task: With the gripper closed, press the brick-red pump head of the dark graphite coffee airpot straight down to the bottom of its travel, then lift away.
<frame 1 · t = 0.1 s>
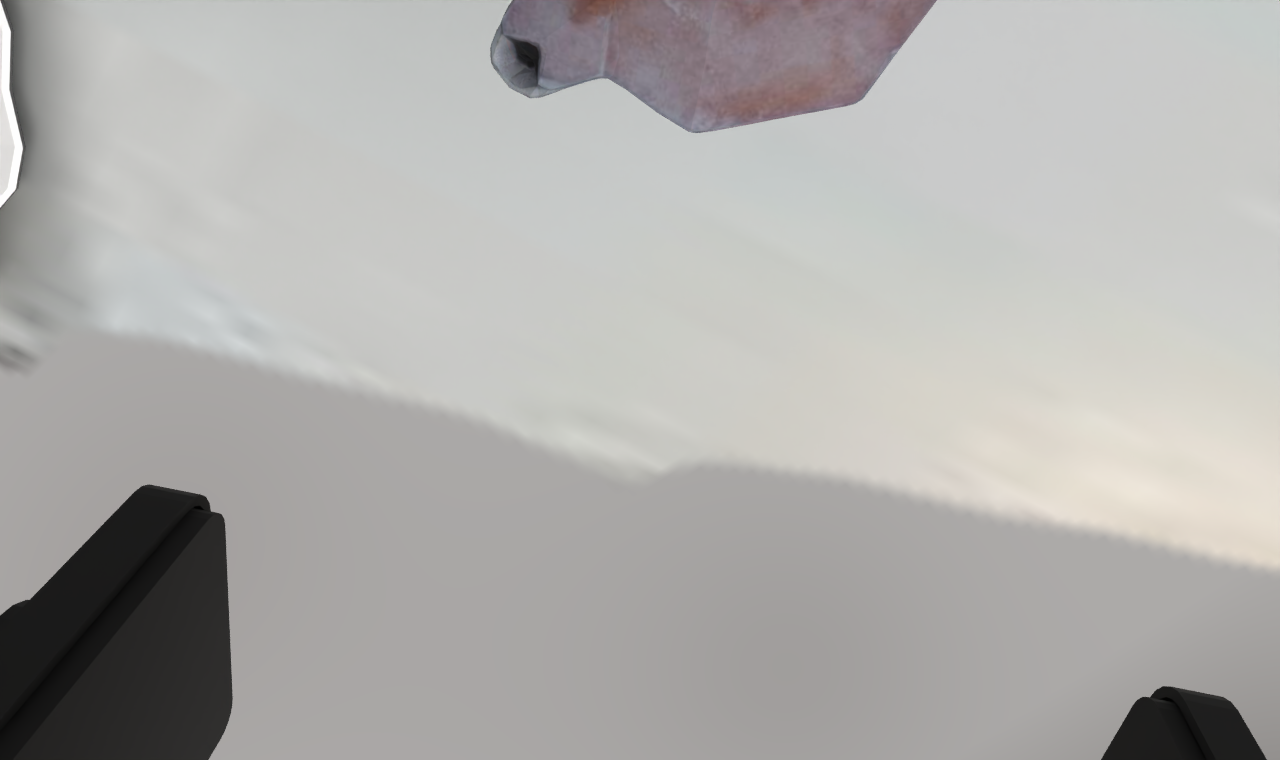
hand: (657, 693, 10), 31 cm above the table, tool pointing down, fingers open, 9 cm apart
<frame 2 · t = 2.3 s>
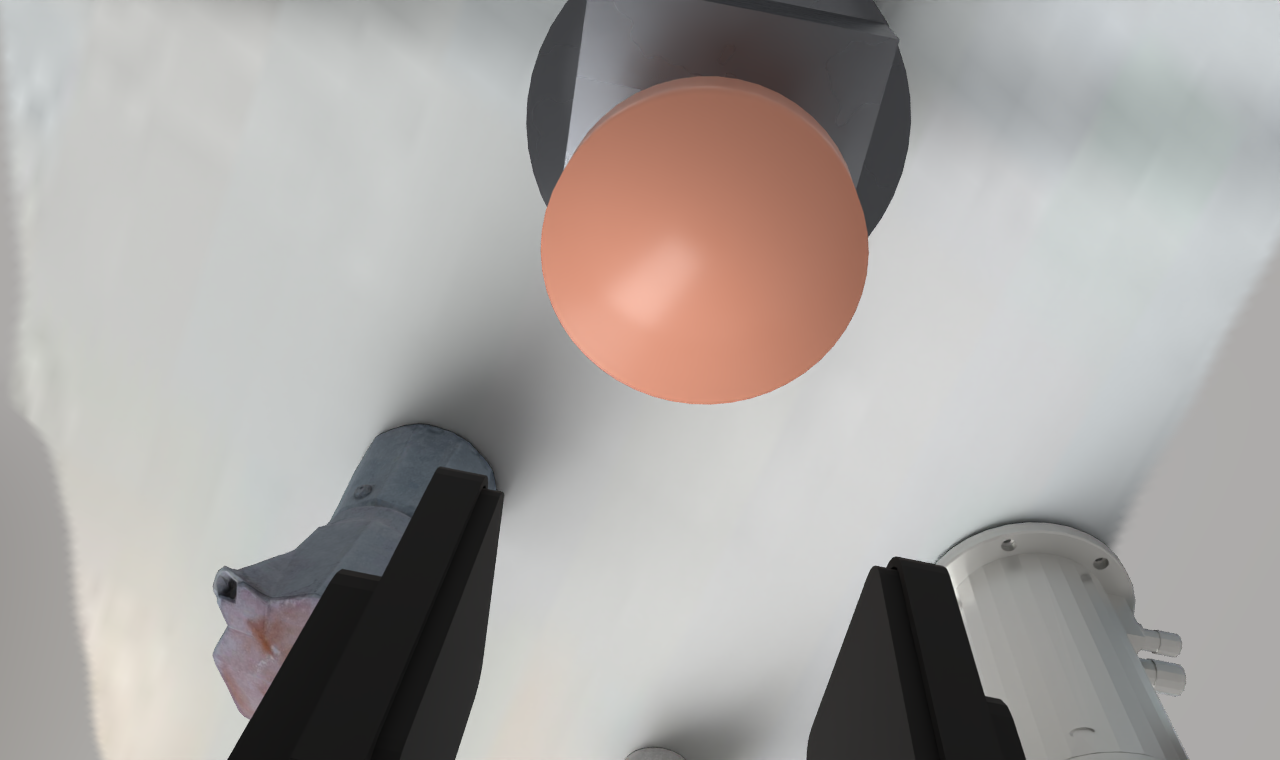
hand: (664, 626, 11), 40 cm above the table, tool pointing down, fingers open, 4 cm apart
airpot: (724, 43, 46), on the table
moka pot: (436, 484, 60), on the table
house plant: (662, 757, 70), on the table
pump head: (706, 219, 23), point 26 cm above the table, slide at 0.0 cm
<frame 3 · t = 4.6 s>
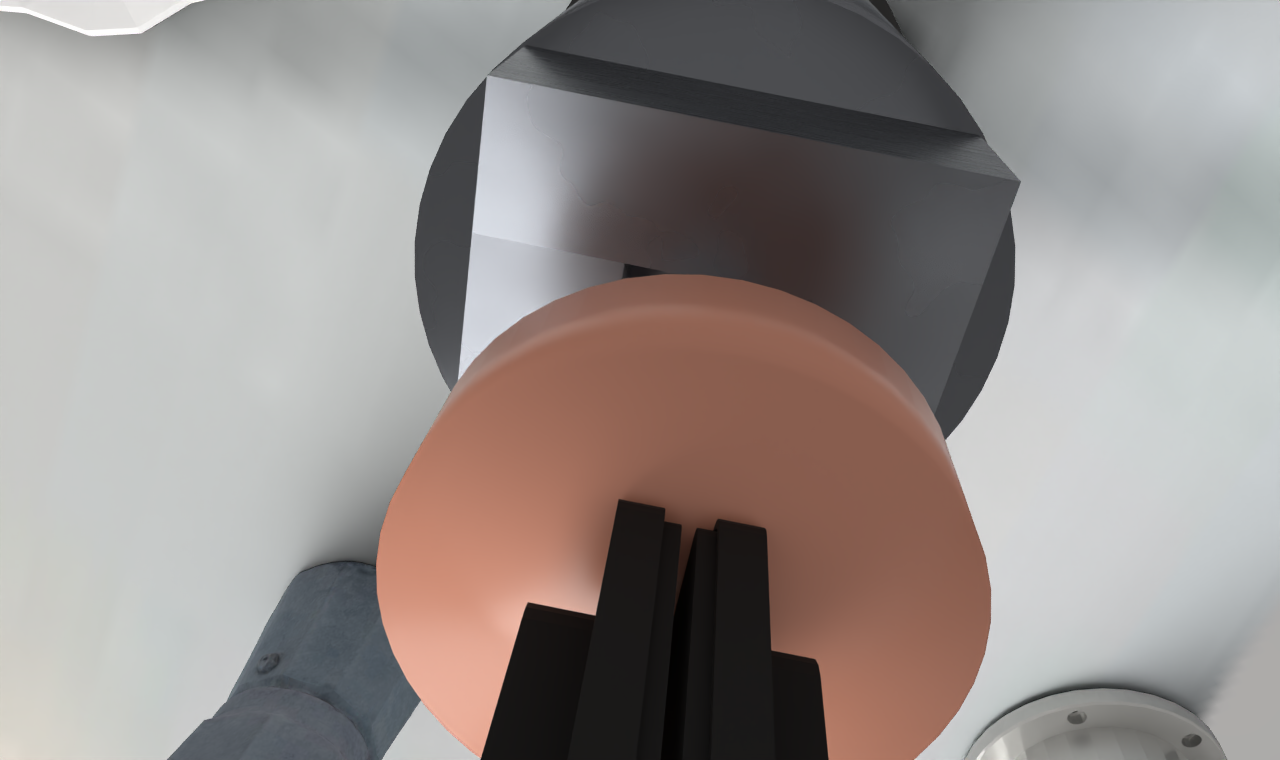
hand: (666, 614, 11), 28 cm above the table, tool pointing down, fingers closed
airpot: (723, 108, 35), on the table
moka pot: (372, 628, 49), on the table
pump head: (687, 484, 14), point 25 cm above the table, slide at 1.4 cm, touching gripper
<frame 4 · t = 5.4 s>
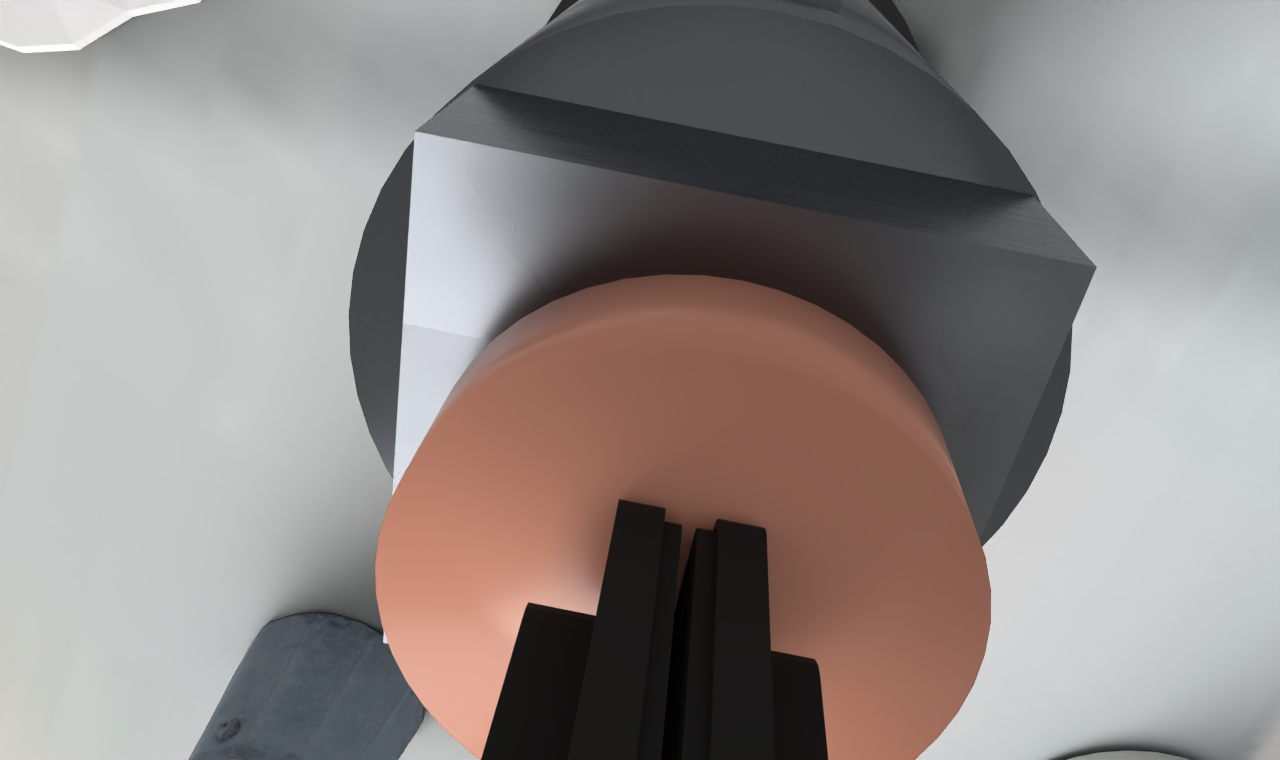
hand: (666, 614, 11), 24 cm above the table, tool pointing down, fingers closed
airpot: (721, 132, 32), on the table
moka pot: (346, 681, 46), on the table
pump head: (687, 485, 14), point 21 cm above the table, slide at 5.1 cm, touching gripper
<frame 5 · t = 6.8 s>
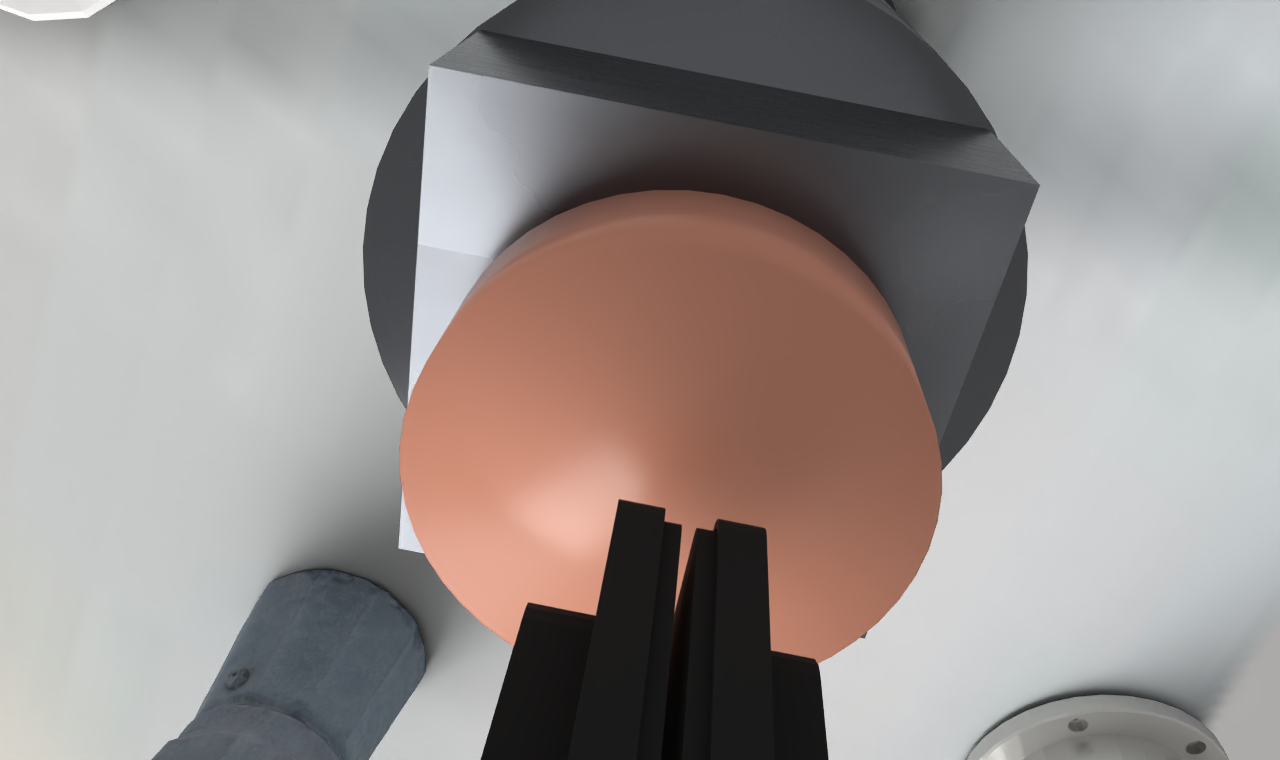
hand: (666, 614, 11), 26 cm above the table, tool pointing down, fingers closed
airpot: (709, 95, 33), on the table
moka pot: (349, 637, 48), on the table
pump head: (676, 391, 15), point 21 cm above the table, slide at 5.1 cm
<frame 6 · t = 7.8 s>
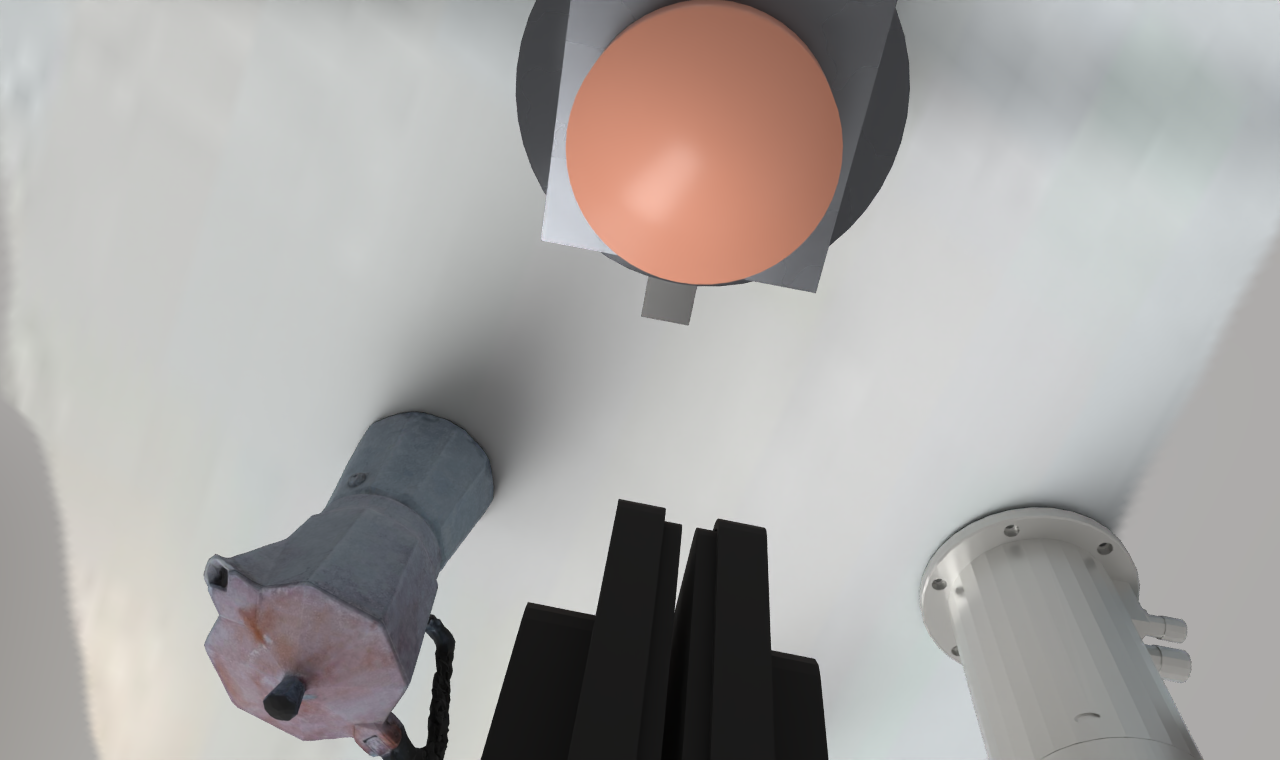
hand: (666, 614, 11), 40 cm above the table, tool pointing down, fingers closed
airpot: (719, 20, 45), on the table
moka pot: (432, 473, 60), on the table
pump head: (705, 129, 27), point 21 cm above the table, slide at 5.1 cm
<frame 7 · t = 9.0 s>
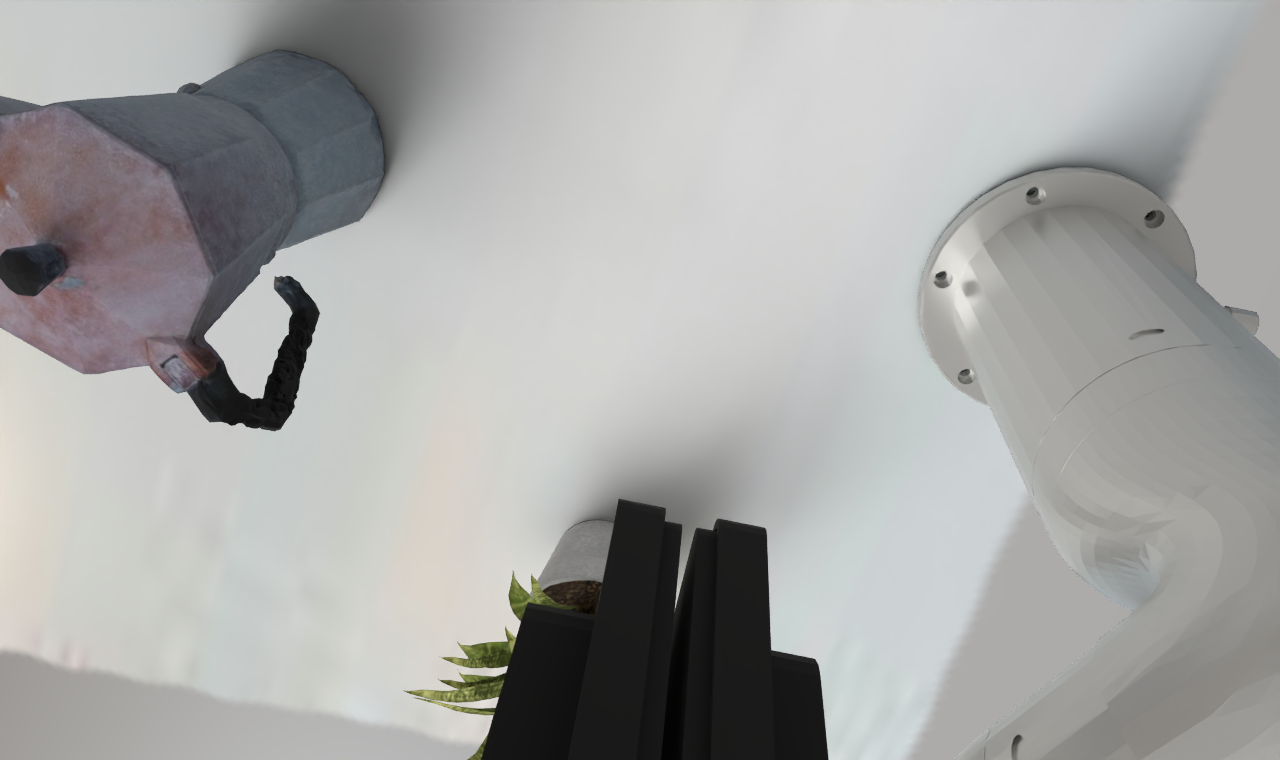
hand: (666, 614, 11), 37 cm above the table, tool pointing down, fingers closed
moka pot: (309, 145, 48), on the table
house plant: (606, 535, 57), on the table
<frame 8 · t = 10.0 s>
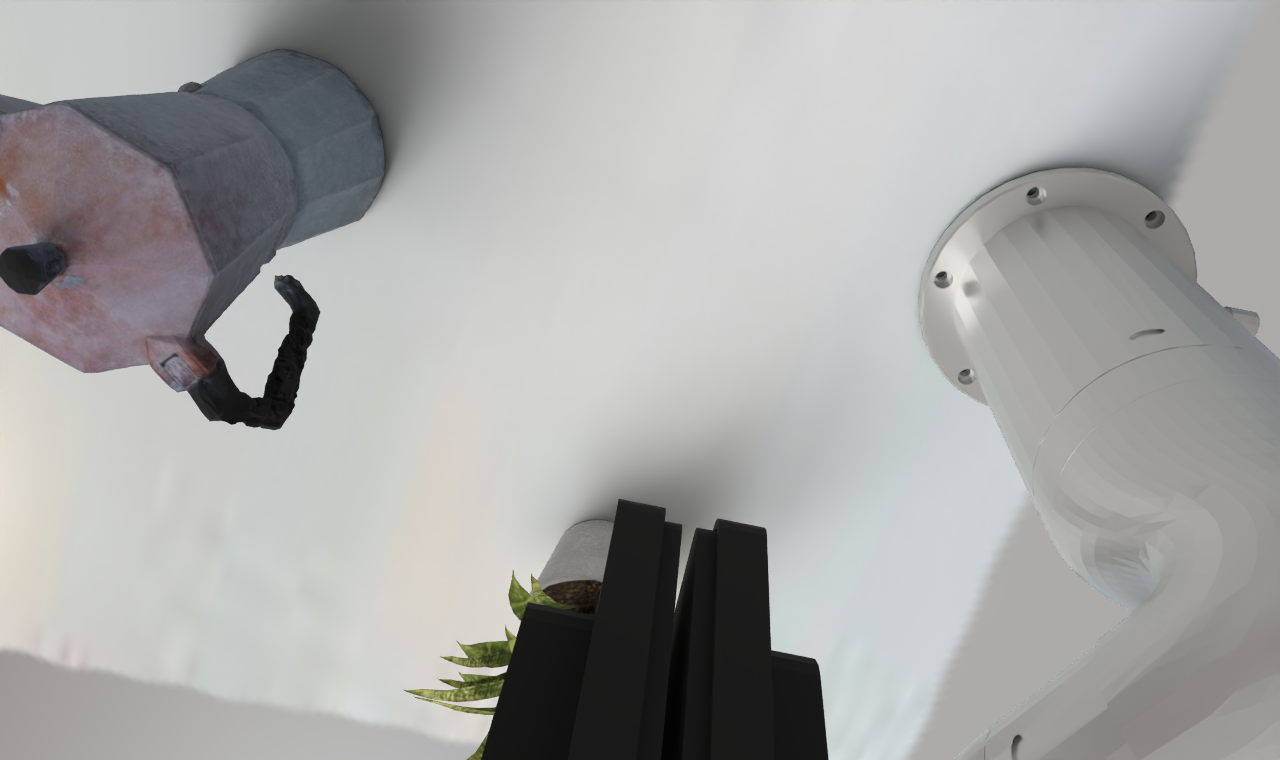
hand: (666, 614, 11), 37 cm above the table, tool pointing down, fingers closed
moka pot: (310, 144, 48), on the table
house plant: (606, 535, 57), on the table
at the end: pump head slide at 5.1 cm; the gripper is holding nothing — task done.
